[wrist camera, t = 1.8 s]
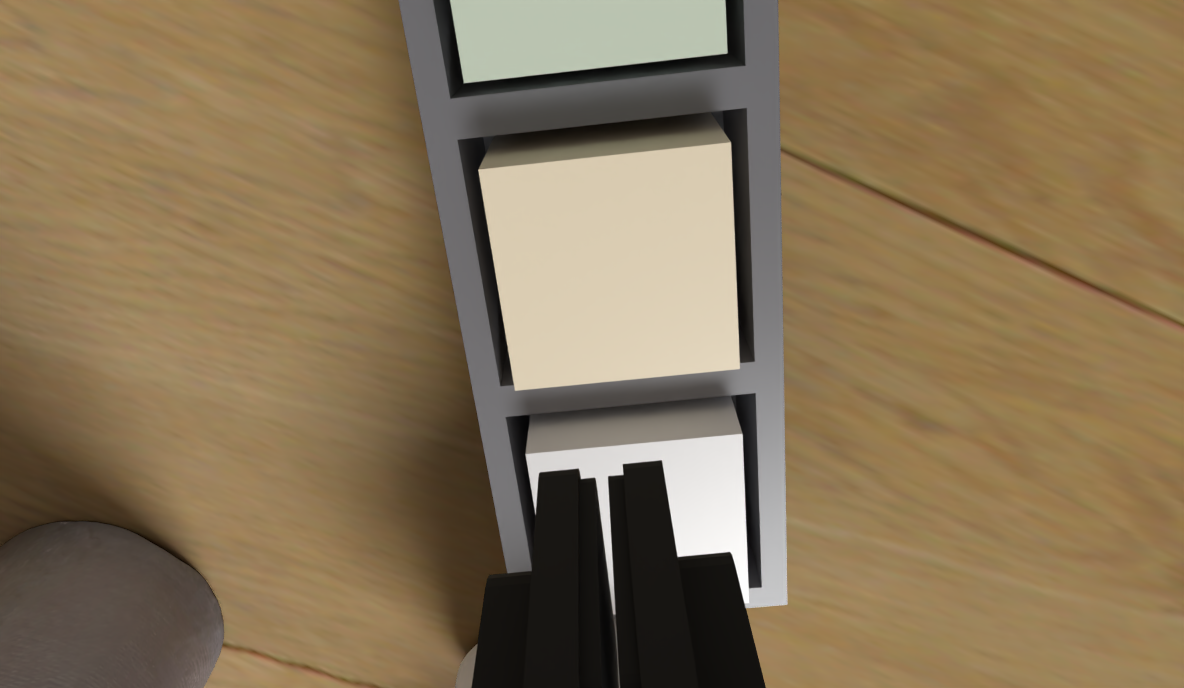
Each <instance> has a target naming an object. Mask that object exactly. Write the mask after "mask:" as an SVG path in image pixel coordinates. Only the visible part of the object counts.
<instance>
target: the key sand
mask: <svg viewBox="0 0 1184 688" xmlns="http://www.w3.org/2000/svg"><path fill="white" fill-rule="evenodd" d="M478 171H479V177H480V183H481V189H482V195H483V201H484V207H485V213H486V219H487V225H488V231H489V237H490V243H491V249H492V255H493V261H494V267H495V273H496V279H497V285H498V291H499V297H500V303H501V309H502V315H503V322H504V328H505V334H506V340H507V346H508V352H509V358H510V364H511V370H512V376H513V382H514V388H515V391H518V390H528V389H539V388H549V387H559V386H570V385H580V384H590V383H601V382H611V381H621V380H632V379H642V378H653V377H663V376H673V375H684V374H694V373H704V372H715V371H725V370H735V369H740V357H739V332H738V307H737V281H736V256H735V231H734V205H733V180H732V155H731V142H730V140H729V139H728V137H727V136H726V134H725V133H724V131H723V130H722V128H721V127H720V125H719V124H718V122H717V121H716V120H715V118H714V117H713V115H712V114H711V112H705V113H696V114H687V115H678V116H669V117H660V118H650V119H641V120H632V121H623V122H614V123H605V124H596V125H587V126H578V127H569V128H560V129H550V130H541V131H532V132H523V133H514V134H505V135H496V136H494V138H493V140H492V142H491V144H490V146H489V148H488V151H487V153H486V155H485V157H484V159H483V161H482V163H481V165H480V167H479V169H478Z"/></svg>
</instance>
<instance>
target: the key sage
mask: <svg viewBox="0 0 1184 688" xmlns="http://www.w3.org/2000/svg"><path fill="white" fill-rule="evenodd" d="M450 2H451V8H452V14H453V20H454V26H455V32H456V39H457V45H458V51H459V57H460V63H461V69H462V75H463V81H464V83H471V82H479V81H488V80H497V79H506V78H515V77H524V76H533V75H541V74H550V73H559V72H568V71H577V70H586V69H595V68H603V67H612V66H621V65H630V64H639V63H648V62H657V61H665V60H674V59H683V58H692V57H701V56H710V55H719V54H727V28H726V3H725V0H450Z"/></svg>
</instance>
